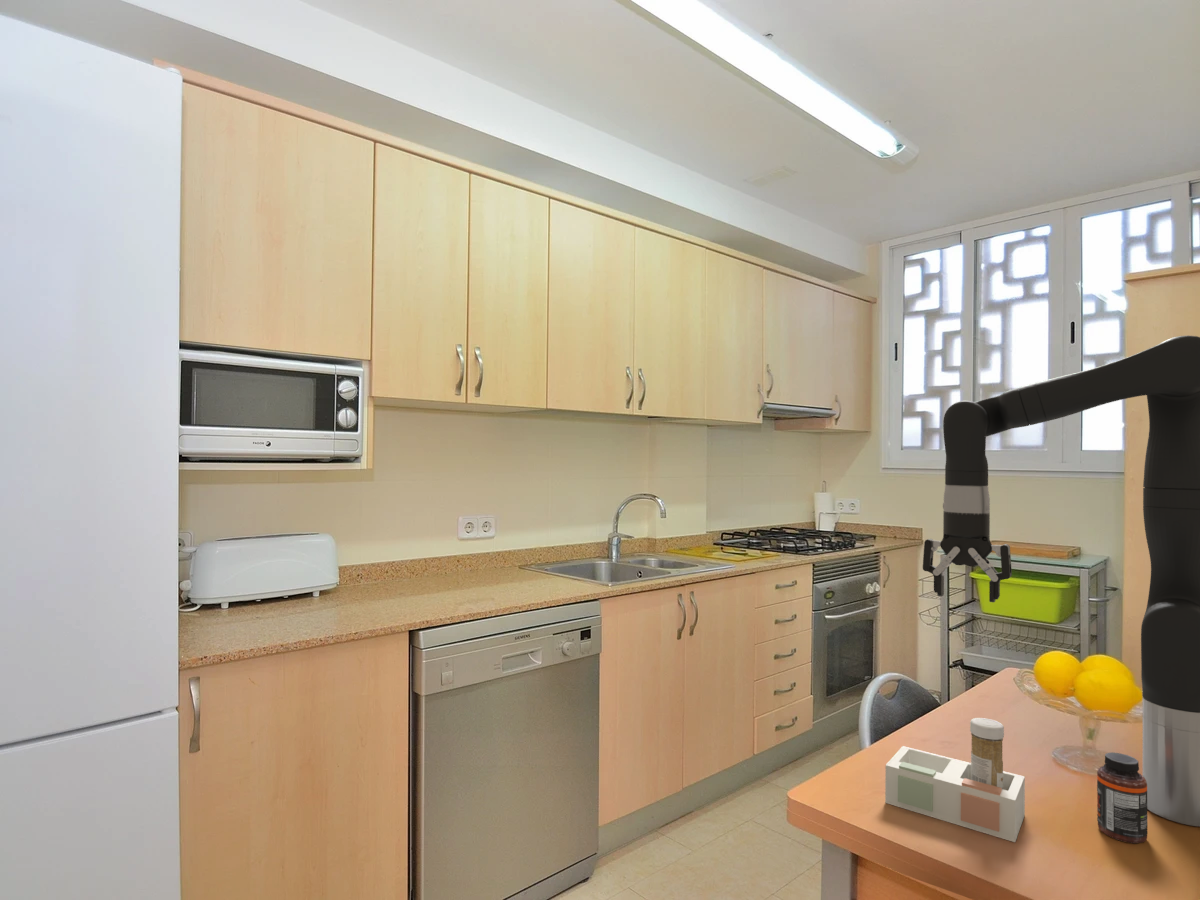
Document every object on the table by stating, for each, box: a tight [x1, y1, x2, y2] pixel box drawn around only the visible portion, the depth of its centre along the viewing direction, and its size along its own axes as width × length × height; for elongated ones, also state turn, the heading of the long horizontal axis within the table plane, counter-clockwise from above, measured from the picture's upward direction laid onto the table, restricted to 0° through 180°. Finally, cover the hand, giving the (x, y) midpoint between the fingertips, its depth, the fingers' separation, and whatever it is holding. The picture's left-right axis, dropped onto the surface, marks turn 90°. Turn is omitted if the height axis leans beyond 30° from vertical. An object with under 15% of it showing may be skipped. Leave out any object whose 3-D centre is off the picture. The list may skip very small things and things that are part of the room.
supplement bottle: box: [1096, 751, 1148, 844], centre depth 102 cm, size 6×6×11 cm
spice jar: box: [969, 717, 1005, 789], centre depth 107 cm, size 5×5×13 cm
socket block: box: [884, 745, 1026, 843], centre depth 108 cm, size 18×10×6 cm, turn 52°
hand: (965, 598), depth 126 cm, fingers open, 8 cm apart
